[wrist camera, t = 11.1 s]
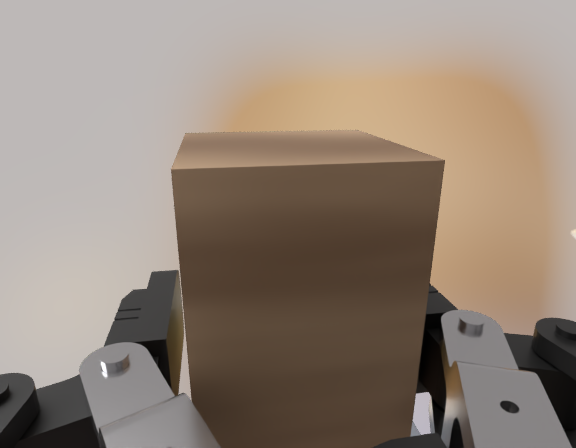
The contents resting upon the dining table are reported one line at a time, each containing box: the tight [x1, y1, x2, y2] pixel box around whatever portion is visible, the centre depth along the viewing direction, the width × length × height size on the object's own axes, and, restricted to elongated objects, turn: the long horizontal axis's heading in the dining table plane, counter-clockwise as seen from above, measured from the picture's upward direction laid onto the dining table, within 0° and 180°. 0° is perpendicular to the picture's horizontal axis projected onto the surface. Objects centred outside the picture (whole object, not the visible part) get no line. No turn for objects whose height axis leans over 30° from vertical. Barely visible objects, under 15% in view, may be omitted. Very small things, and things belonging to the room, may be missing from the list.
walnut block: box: [171, 130, 445, 448], centre depth 11 cm, size 4×4×14 cm
